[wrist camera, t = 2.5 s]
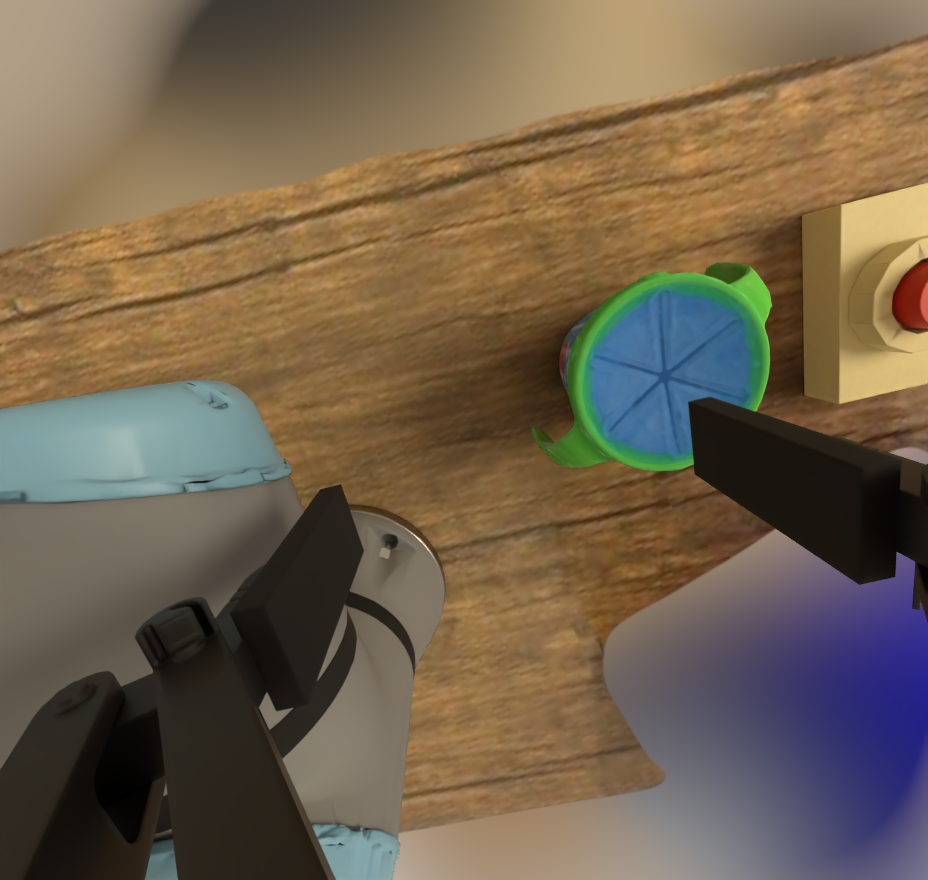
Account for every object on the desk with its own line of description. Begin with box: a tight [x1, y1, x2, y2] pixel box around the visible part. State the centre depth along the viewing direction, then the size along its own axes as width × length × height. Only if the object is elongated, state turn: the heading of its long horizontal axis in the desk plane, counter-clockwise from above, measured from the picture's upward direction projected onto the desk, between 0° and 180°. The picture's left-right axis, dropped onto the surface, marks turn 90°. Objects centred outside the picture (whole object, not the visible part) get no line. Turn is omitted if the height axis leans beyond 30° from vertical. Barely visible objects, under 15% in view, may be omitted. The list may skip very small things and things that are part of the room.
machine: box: [802, 183, 928, 404], centre depth 29 cm, size 13×8×5 cm, turn 13°
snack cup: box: [532, 262, 772, 471], centre depth 28 cm, size 16×10×10 cm
